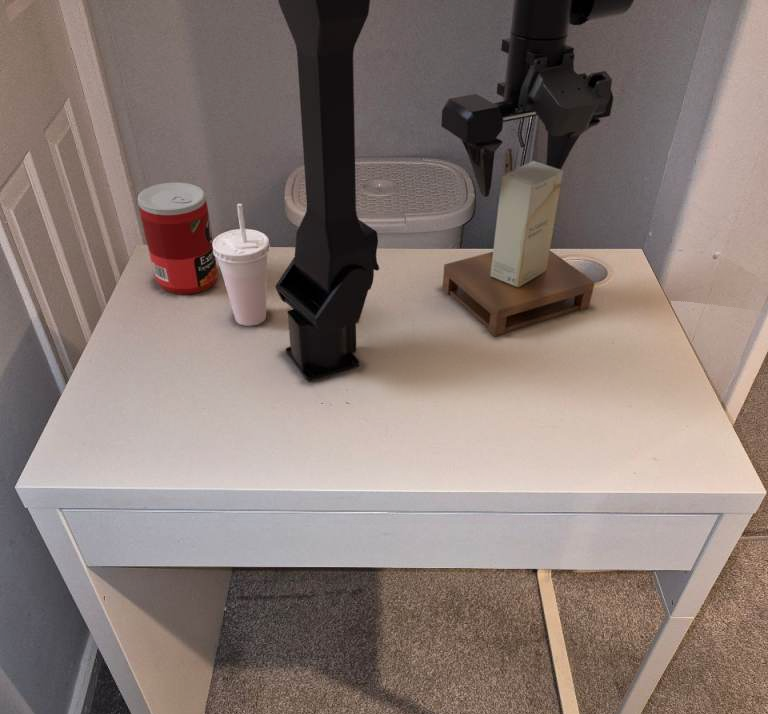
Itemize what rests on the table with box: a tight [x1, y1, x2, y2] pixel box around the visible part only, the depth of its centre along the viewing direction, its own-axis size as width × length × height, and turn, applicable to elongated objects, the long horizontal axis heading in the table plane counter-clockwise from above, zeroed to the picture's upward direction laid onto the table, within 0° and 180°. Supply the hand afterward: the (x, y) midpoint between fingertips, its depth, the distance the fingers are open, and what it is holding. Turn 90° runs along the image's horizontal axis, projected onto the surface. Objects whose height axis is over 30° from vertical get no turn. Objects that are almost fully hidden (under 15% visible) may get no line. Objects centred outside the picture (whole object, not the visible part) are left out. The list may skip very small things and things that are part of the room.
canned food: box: [137, 182, 219, 295], centre depth 94 cm, size 8×8×11 cm
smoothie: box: [212, 203, 271, 327], centre depth 87 cm, size 6×6×14 cm
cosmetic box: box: [491, 160, 564, 287], centre depth 88 cm, size 6×4×12 cm
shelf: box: [442, 250, 596, 337], centre depth 94 cm, size 14×12×4 cm
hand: (518, 187), depth 88 cm, fingers open, 9 cm apart
